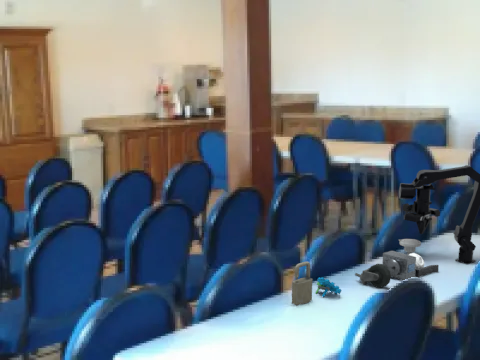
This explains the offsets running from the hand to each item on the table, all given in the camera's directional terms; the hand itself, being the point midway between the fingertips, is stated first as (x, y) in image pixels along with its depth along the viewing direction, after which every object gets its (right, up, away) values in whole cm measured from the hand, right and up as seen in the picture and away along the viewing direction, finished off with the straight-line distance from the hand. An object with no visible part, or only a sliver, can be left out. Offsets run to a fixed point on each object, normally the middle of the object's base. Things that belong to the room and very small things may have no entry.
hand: (421, 233), depth 302 cm
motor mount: (-10, -15, -16) cm, 24 cm away
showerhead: (-3, -11, +10) cm, 15 cm away
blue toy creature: (-47, -20, -43) cm, 66 cm away
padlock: (-57, -21, -50) cm, 79 cm away
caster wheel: (-28, -18, -31) cm, 45 cm away
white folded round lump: (-7, -15, -14) cm, 21 cm away
